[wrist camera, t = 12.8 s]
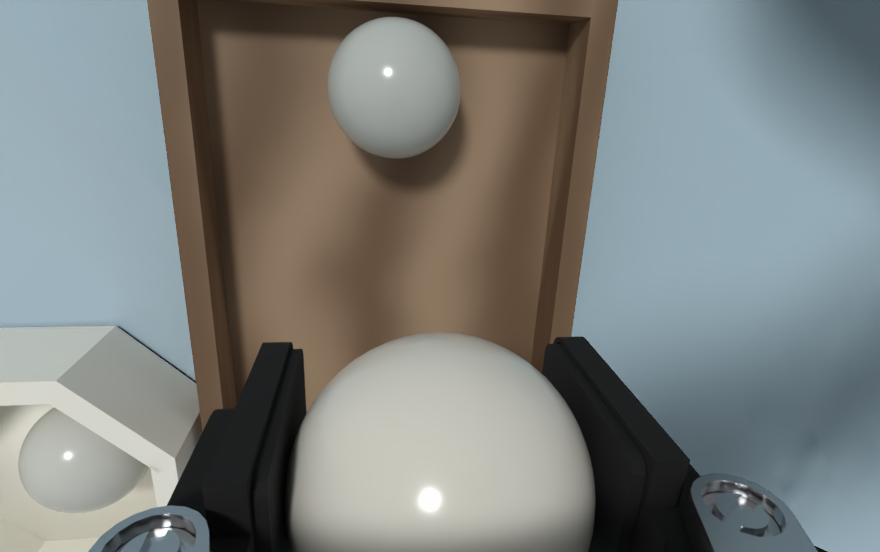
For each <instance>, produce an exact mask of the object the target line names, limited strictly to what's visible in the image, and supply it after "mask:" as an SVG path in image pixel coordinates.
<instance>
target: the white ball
mask: <svg viewBox="0 0 880 552" xmlns="http://www.w3.org/2000/svg"><path fill="white" fill-rule="evenodd" d="M148 469H149V467H148V466H147V465H145V464H143V463H142V462H140V461H139V460H137V459H136V458H134V457H132V456H131V455H129V454H128V453H126V452H124V451H123V450H121V449H120V448H118V447H117V446H115V445H113V444H112V443H110V442H109V441H107V440H105V439H104V438H102V437H101V436H99V435H98V434H96V433H94V432H93V431H91V430H90V429H88V428H86V427H85V426H83V425H82V424H80V423H79V422H77V421H75V420H74V419H72V418H71V417H69V416H67V415H66V414H64V413H63V412H61V411H60V410H58V409H56V408H55V407H54V408H52V409H51V410H49V411H48V412H47V413H45V414H44V415H43V416H42V417H41V418H40V419H39V420H38V421H37V422H36V423H35V424H34V425H33V426H32V428H31V429H30V430H29V432H28V434H27V435H26V437H25V439H24V441H23V444H22V446H21V449H20V453H19V460H18V470H19V475H20V480H21V482H22V484H23V486H24V488H25V490H26V491H27V493H28V494H29V495H30V496H31V497H32V498H33V499H34V500H35V501H36V502H38V503H39V504H41V505H43V506H44V507H46V508H49V509H51V510H55V511H58V512H64V513H86V512H91V511H95V510H99V509H102V508H104V507H107V506H109V505H111V504H113V503H115V502H117V501H119V500H120V499H122V498H123V497H125V496H126V495H127V494H129V493H130V492H131V491H132V490H133V489H134V488H135V487H136V486H137V485H138V484H139V483H140V482H141V480H142V479H143V478H144V476H145V475H146V473H147V471H148Z"/></svg>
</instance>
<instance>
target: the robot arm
mask: <svg viewBox="0 0 880 552" xmlns="http://www.w3.org/2000/svg"><path fill="white" fill-rule="evenodd" d="M542 374H543V375H544V376H545V377H546V378H547V379H548V380H549V381H550V382H551V384H552V385H553V386H554V387H555V388H556V389H557V391H558V392H559V393H560V395H561V396H562V397H563V399H564V400H565V401H566V403H567V405H568V406H569V408H570V409H571V411H572V413H573V414H574V416H575V418H576V420H577V422H578V425H579V427H580V429H581V431H582V434H583V436H584V439H585V441H586V444H587V448H588V451H589V455H590V459H591V463H592V468H593V473H594V483H595V498H596V506H595V520H594V528H593V535H592V539H591V543H590V547H589V550H588V552H827V551H825V550H822V549H820V548H818V547H816V546H814V545H813V543H812V542H811V540H810V539H809V537H808V536H807V534H806V533H805V531H804V530H803V528H802V526H801V525H800V523H799V522H798V520H797V519H796V517H795V516H794V514H793V513H792V512H791V511H790V509H789V508H788V507H787V506H786V505H785V503H784V502H782V501H781V500H780V499H779V498H777V497H776V496H775V495H774V494H772V493H771V492H770V491H768V490H766V489H764V488H763V487H761V486H759V485H757V484H755V483H753V482H750V481H748V480H745V479H743V478H740V477H736V476H731V475H727V474H708V475H703V476H700V475H699V474H698V473H697V472H696V471H695V469H694V468H693V467H692V466H691V465H690V464H689V462H690V459H689V458H688V457H687V456H686V455H685V454H684V452H683V451H682V450H681V449H680V448H679V447H678V446H677V444H676V443H675V442H674V441H673V440H672V439H671V437H670V436H669V435H668V434H667V433H666V432H665V430H664V429H663V428H662V427H661V426H660V425H659V423H658V422H657V421H656V420H655V419H654V418H653V417H652V415H651V414H650V413H649V412H648V411H647V410H646V408H645V407H644V406H643V405H642V404H641V403H640V401H639V400H638V399H637V398H636V397H635V396H634V394H633V393H632V392H631V391H630V390H629V389H628V388H627V386H626V385H625V384H624V383H623V382H622V381H621V379H620V378H619V377H618V376H617V375H616V374H615V372H614V371H613V370H612V369H611V368H610V367H609V365H608V364H607V363H606V362H605V361H604V360H603V359H602V357H601V356H600V355H599V354H598V353H597V352H596V350H595V349H594V348H593V347H592V346H591V345H590V343H589V342H588V341H587V340H586V339H585V338H584V337H556V338H555V340H554V342H553V344H547V346H546V348H545V354H544V362H543V370H542ZM305 416H306V394H305V375H304V356H303V349H293V344H292V342H263V343H262V345H261V347H260V350H259V352H258V355H257V357H256V359H255V362H254V364H253V366H252V369H251V371H250V374H249V376H248V378H247V381H246V383H245V385H244V388H243V390H242V393H241V395H240V397H239V400H238V402H237V404H236V407H235V408H231V409H216V410H214V411H213V412H212V414H211V415H210V417H209V420H208V422H207V424H206V426H205V428H204V430H203V432H202V434H201V436H200V438H199V440H198V442H197V444H196V446H195V448H194V450H193V452H192V454H191V457H190V459H189V461H188V463H187V465H186V467H185V469H184V471H183V473H182V475H181V477H180V479H179V481H178V483H177V485H176V487H175V489H174V491H173V493H172V496H171V498H170V500H169V502H168V504H167V506H163V507H156V508H151V509H148V510H145V511H142V512H139V513H136V514H134V515H132V516H130V517H128V518H126V519H124V520H123V521H121V522H119V523H117V524H116V525H114V526H113V527H112V528H111V529H109V530H108V531H107V532H106V533H104V534H103V535H102V536H101V537H100V538H99V539H98V540H97V541H96V543H95V544H94V545H93V546H92V547H91V549H90V550H89V552H291V550H290V546H289V542H288V538H287V532H286V526H285V483H286V475H287V467H288V460H289V456H290V453H291V450H292V447H293V444H294V441H295V438H296V435H297V432H298V429H299V427H300V425H301V423H302V422H303V420H304V418H305Z"/></svg>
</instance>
